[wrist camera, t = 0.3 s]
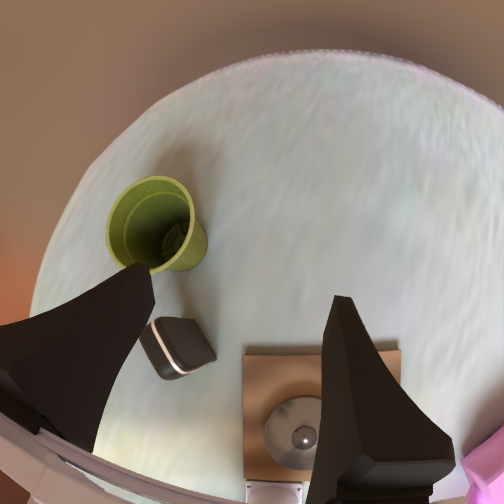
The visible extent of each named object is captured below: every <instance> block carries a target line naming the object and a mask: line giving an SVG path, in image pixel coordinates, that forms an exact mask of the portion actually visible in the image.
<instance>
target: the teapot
mask: <svg viewBox="0 0 504 504" xmlns="http://www.w3.org/2000/svg"><path fill="white" fill-rule="evenodd" d="M461 463H462V466H463V468H464V471H465V473H466V475H467V478H468V480H469V483H470V485H471V487H470V489H469V491H468V493H467V496H466V504H504V423H503V424H502V425H501V427H500V429H499V430H498V431H497V432H495V433H494V434H493V435H492V436H491V437H490V438H488V439H487V440H486V441H485V442H484V443H482V444H481V445H480V446H477V447H475V448H473V449H472V450H471V451H470V453H469V455H467V456H466V457H465V458H463V459H462V460H461Z"/></svg>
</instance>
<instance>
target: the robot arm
mask: <svg viewBox="0 0 504 504" xmlns="http://www.w3.org/2000/svg"><path fill="white" fill-rule="evenodd" d="M154 305H155V298H154V293H153V287H152V281H151V274H150V268H149V264H144V263H138V262H135V263H133V264H131V265H129V266H128V267H126V268H124V269H123V270H121V271H119V272H118V273H116V274H115V275H113V276H111V277H110V278H108V279H107V280H105V281H103V282H102V283H100V284H98V285H97V286H95V287H94V288H92V289H90V290H88V291H87V292H85V293H83V294H81V295H80V296H78V297H76V298H74V299H72V300H71V301H69V302H67V303H65V304H62V305H60V306H58V307H56V308H54V309H52V310H49V311H47V312H44V313H41V314H39V315H36V316H34V317H31V318H28V319H25V320H22V321H18V322H15V323H11V324H7V325H2V326H0V469H1V470H2V471H3V472H4V473H6V474H7V475H8V476H10V477H11V478H12V479H13V480H14V481H15V482H17V483H18V484H19V485H21V486H22V487H23V488H25V489H26V490H27V491H29V492H30V493H31V496H30V498H29V501H28V503H27V504H134V503H132V502H129V501H127V500H124V499H122V498H119V497H117V496H115V495H112V494H110V493H108V492H106V491H105V490H104V489H103V488H101V487H100V486H98V485H97V484H95V483H94V482H92V481H91V480H90V479H88V478H87V477H86V476H85V475H84V474H83V473H82V472H80V471H78V470H77V469H75V468H73V467H72V466H70V465H69V464H71V465H73V466H75V467H77V468H79V469H81V470H83V471H85V472H87V473H89V474H91V475H93V476H95V477H97V478H99V479H102V480H104V481H106V482H108V483H110V484H113V485H115V486H117V487H120V488H122V489H125V490H127V491H130V492H132V493H135V494H137V495H140V496H143V497H145V498H148V499H151V500H154V501H157V502H160V503H163V504H302V493H303V484H302V483H283V482H263V481H250V480H249V481H246V483H245V501H246V503H243V502H238V501H233V500H228V499H223V498H219V497H215V496H210V495H206V494H202V493H198V492H195V491H191V490H187V489H184V488H180V487H177V486H174V485H170V484H167V483H164V482H161V481H158V480H155V479H152V478H149V477H147V476H144V475H141V474H138V473H136V472H133V471H130V470H128V469H125V468H123V467H120V466H118V465H116V464H113V463H111V462H109V461H106V460H104V459H102V458H100V457H97V456H95V455H93V454H91V453H93V448H94V444H95V440H96V436H97V432H98V428H99V424H100V421H101V418H102V415H103V411H104V408H105V405H106V403H107V400H108V397H109V395H110V392H111V389H112V387H113V385H114V382H115V380H116V377H117V375H118V373H119V371H120V369H121V367H122V365H123V363H124V361H125V360H126V358H127V356H128V355H129V353H130V351H131V350H132V348H133V346H134V344H135V343H136V341H137V339H138V338H139V336H140V334H141V333H142V331H143V329H144V328H145V326H146V324H147V322H148V320H149V317H150V315H151V313H152V310H153V308H154ZM65 461H66V462H68V463H69V464H67V463H66V462H65ZM455 466H456V463H455V454H454V447H453V443H452V438H451V437H450V436H448V435H447V434H446V433H445V432H444V431H443V430H441V429H440V428H439V427H438V426H437V425H436V424H435V423H433V422H432V421H431V420H430V419H429V418H428V417H427V416H426V415H425V414H424V413H423V412H422V411H421V410H420V409H419V407H418V406H417V405H416V404H415V403H414V402H413V401H412V399H411V398H410V397H409V396H408V395H407V394H406V392H405V391H404V390H403V389H402V387H401V386H400V385H399V383H398V382H397V381H396V379H395V378H394V377H393V375H392V374H391V372H390V371H389V369H388V368H387V366H386V365H385V363H384V361H383V360H382V358H381V356H380V355H379V353H378V351H377V349H376V348H375V346H374V344H373V342H372V340H371V338H370V336H369V334H368V332H367V331H366V329H365V326H364V324H363V322H362V320H361V318H360V316H359V314H358V311H357V309H356V307H355V304H354V302H353V300H352V298H351V297H344V296H337V295H335V296H334V300H333V303H332V307H331V310H330V314H329V317H328V321H327V324H326V327H325V331H324V334H323V344H322V354H321V419H320V427H319V435H318V442H317V448H316V454H315V460H314V466H313V471H312V476H311V481H310V486H309V490H308V495H307V499H306V503H305V504H466V497H464V496H463V497H458V498H452V499H446V500H440V501H436V502H432V503H429V496H431V495H432V494H433V484H434V483H436V482H437V481H439V480H441V479H442V478H444V477H445V476H447V475H448V474H449V473H450V472H452V470H453V469H454V468H455ZM248 486H250V487H248ZM298 488H300V490H298Z"/></svg>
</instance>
